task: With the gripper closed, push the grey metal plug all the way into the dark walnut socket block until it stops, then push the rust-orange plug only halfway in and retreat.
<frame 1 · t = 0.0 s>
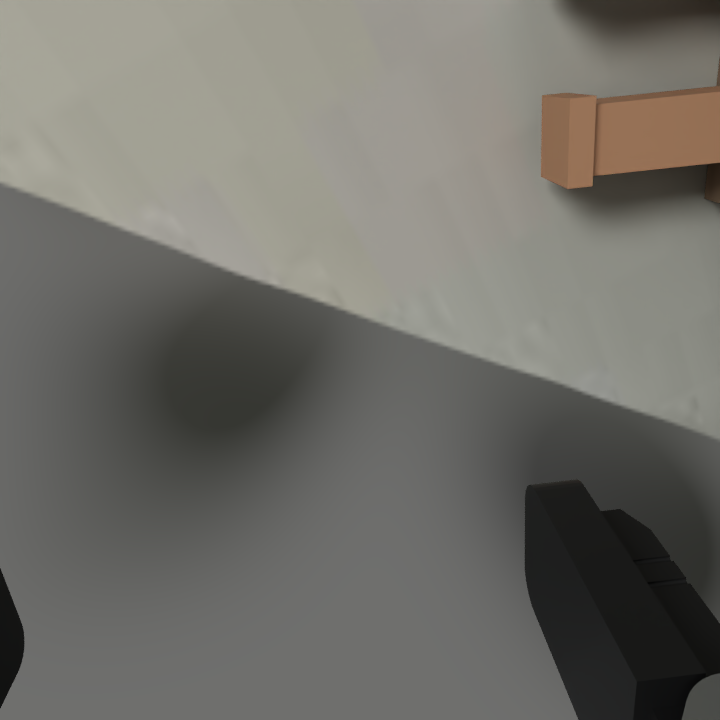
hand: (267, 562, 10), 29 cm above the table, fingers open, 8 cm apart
rust plug: (687, 126, 33), point 4 cm above the table, slide at 0.0 cm
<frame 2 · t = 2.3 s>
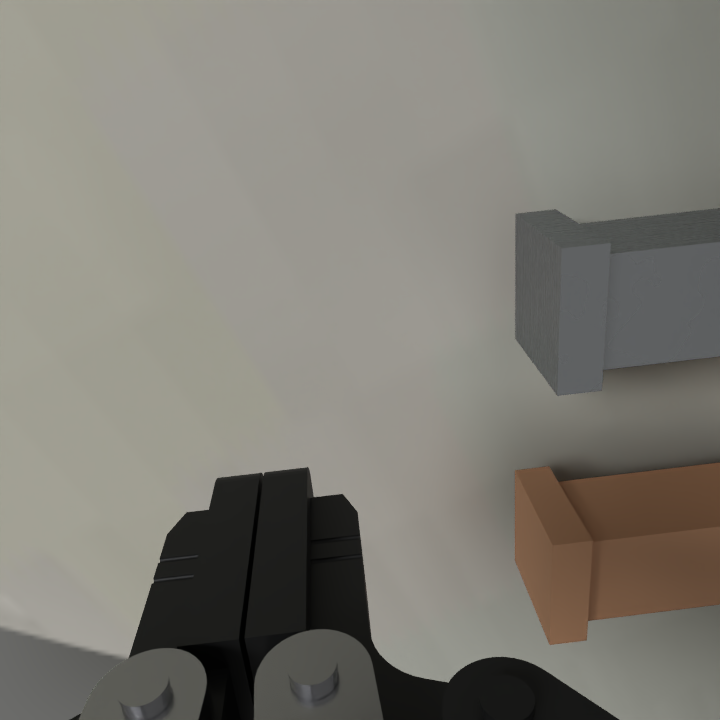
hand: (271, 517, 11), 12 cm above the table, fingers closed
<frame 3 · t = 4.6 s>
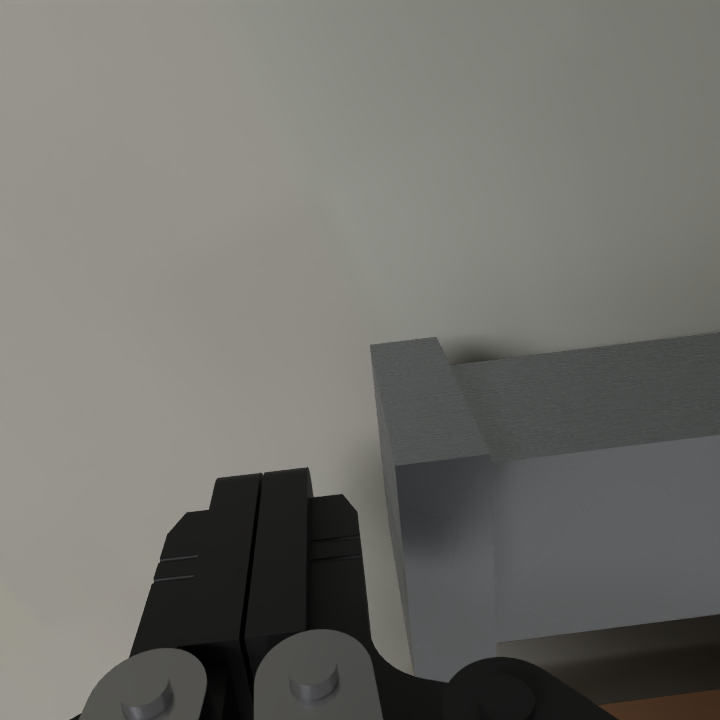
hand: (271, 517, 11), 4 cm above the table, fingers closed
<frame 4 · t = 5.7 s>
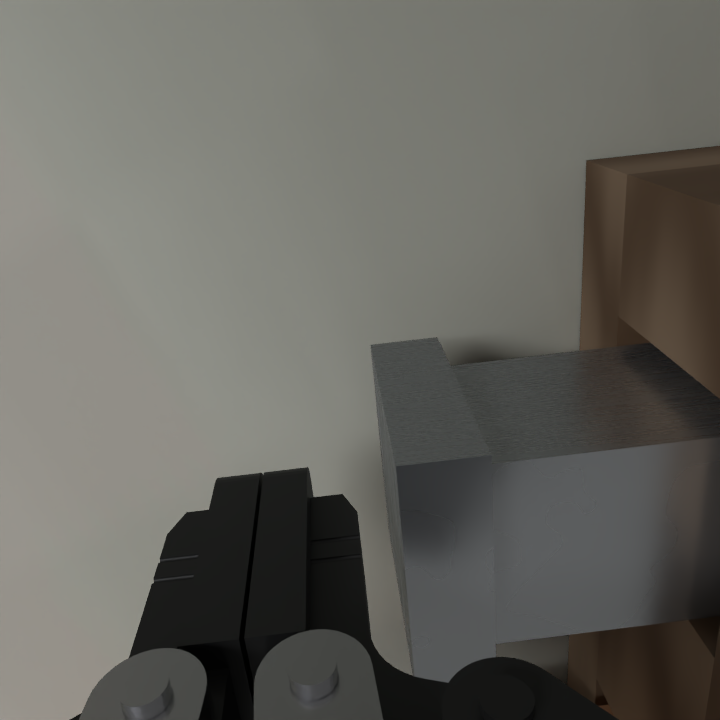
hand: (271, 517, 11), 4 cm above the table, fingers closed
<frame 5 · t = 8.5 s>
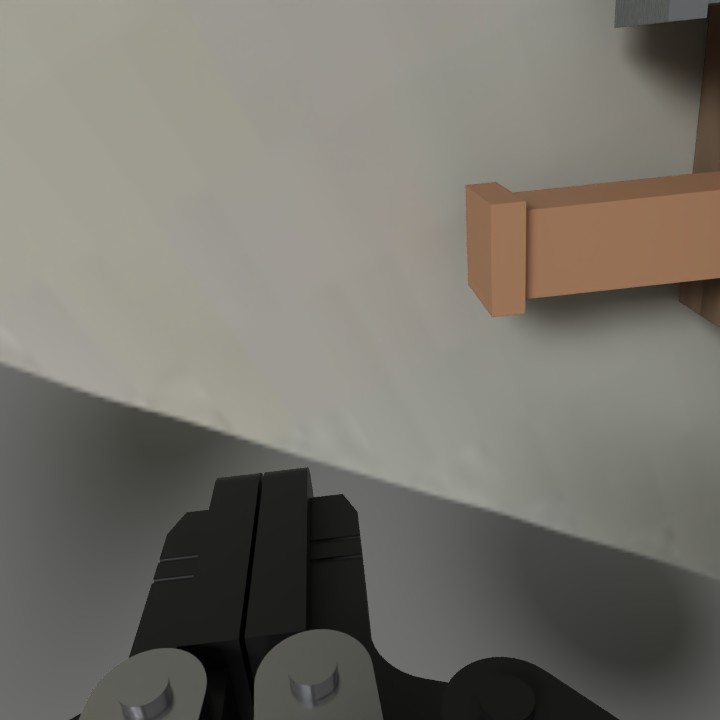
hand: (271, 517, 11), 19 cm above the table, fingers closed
rust plug: (652, 229, 25), point 4 cm above the table, slide at 0.0 cm
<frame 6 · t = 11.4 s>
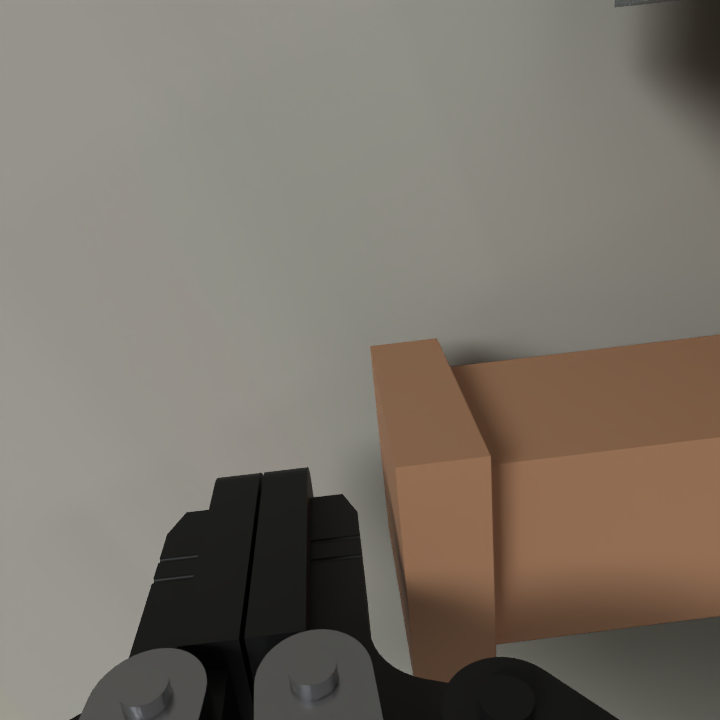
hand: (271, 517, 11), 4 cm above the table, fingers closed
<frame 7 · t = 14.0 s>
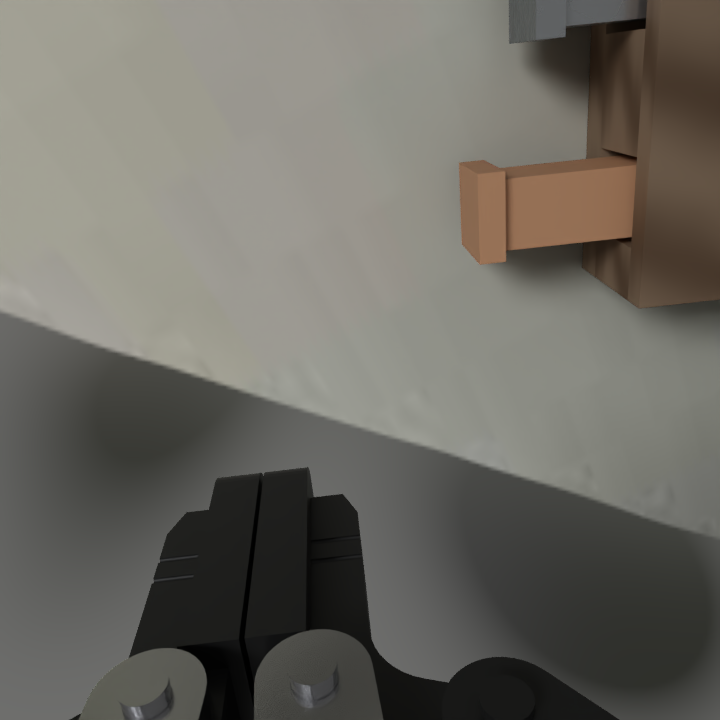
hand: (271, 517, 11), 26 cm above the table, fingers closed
socket block: (678, 82, 34), on the table
rust plug: (608, 197, 32), point 4 cm above the table, slide at 3.1 cm
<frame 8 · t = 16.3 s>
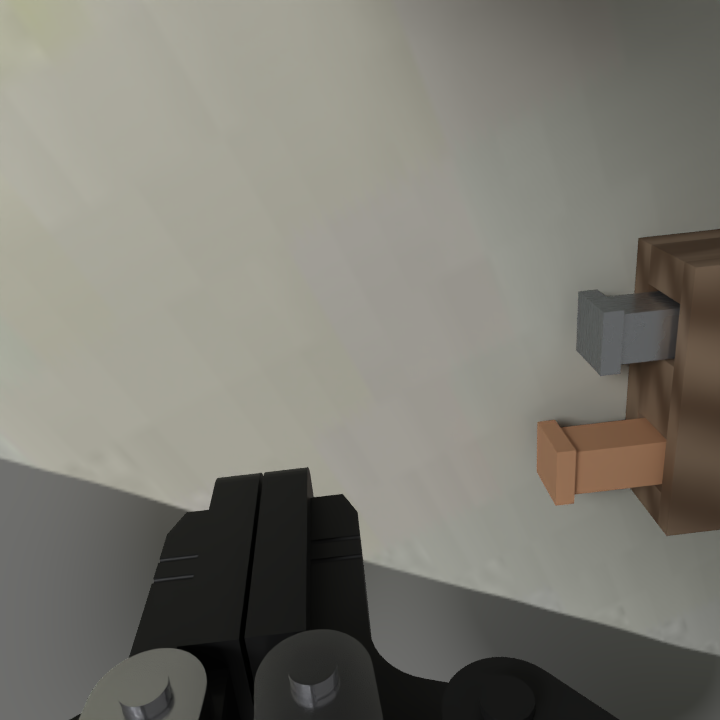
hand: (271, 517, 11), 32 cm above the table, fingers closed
socket block: (693, 359, 47), on the table
rust plug: (644, 451, 45), point 4 cm above the table, slide at 3.1 cm
grey plug: (695, 320, 41), point 4 cm above the table, slide at 5.5 cm
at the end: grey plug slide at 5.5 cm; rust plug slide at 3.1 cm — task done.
